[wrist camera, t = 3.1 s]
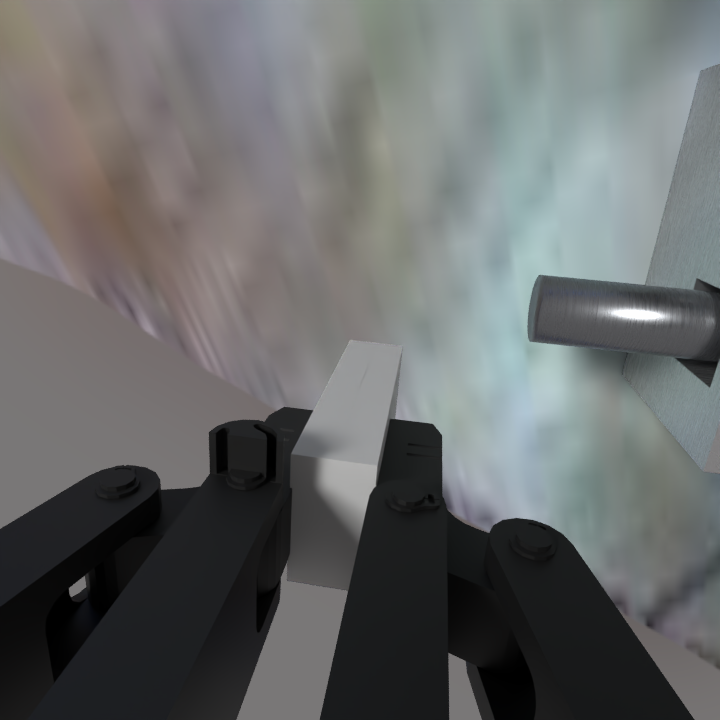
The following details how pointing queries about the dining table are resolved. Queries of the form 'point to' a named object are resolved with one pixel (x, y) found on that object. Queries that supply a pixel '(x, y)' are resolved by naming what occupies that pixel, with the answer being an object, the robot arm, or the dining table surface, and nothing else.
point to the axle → (625, 317)
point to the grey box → (689, 282)
